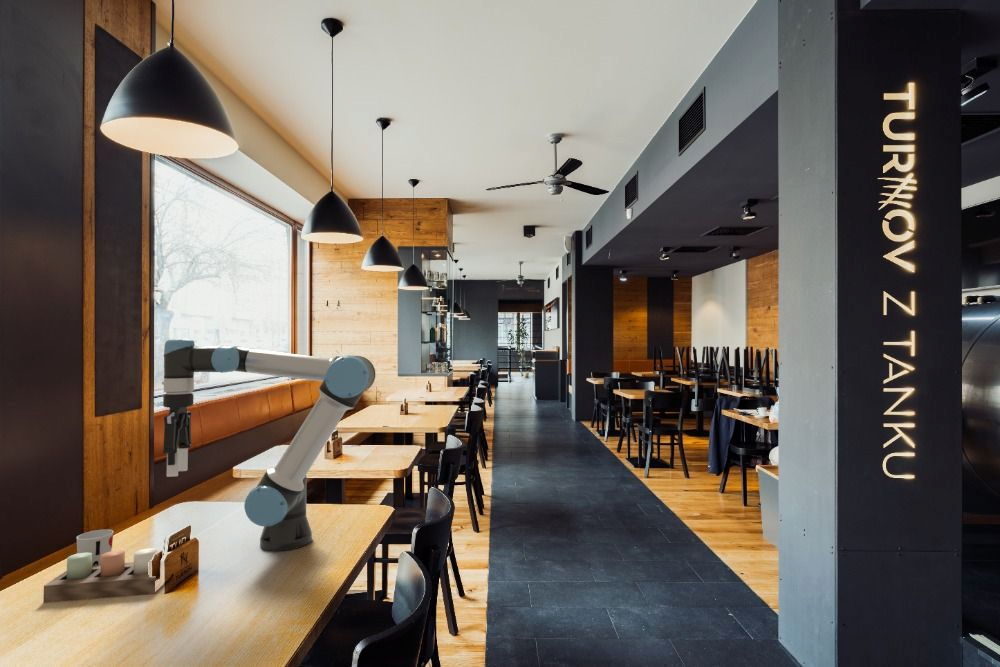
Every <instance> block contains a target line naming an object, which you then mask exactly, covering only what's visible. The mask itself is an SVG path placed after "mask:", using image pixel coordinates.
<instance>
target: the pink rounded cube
mask: <svg viewBox="0 0 1000 667" xmlns="http://www.w3.org/2000/svg"><path fill="white" fill-rule="evenodd" d="M125 559H126V552H125V550H122V549H121V550H111V552H107V553H104V554H102V555H101V571H100V577H109V576H119V575H121V574H123V573H124V572H125V563H126V562H125V561H126V560H125Z"/></svg>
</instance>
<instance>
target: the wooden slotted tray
mask: <svg viewBox="0 0 1000 667" xmlns="http://www.w3.org/2000/svg"><path fill="white" fill-rule="evenodd" d="M100 571H101V565H92V574H91V575H90V576H88V577H86V578H81V579H68V580H67V570H66V571H64V572H63V573H61V574H59V575H58V576H56V577H54V578H53V579H52V580H50V581H48V582H47V583H45V585H43V597H42V598H43V604H45V603H58V602H71V601H83V600H95V599H107V598H108V599H109V598H121V597H134V596H145V595H146V596H148V595H155V594H156V593H155V581H156V576H152V577H149V575H148V574H136V575H134V574H133V573H134V561H131V562H125V572H124V573H123V574H121V575H119V576H109V577H100Z"/></svg>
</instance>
